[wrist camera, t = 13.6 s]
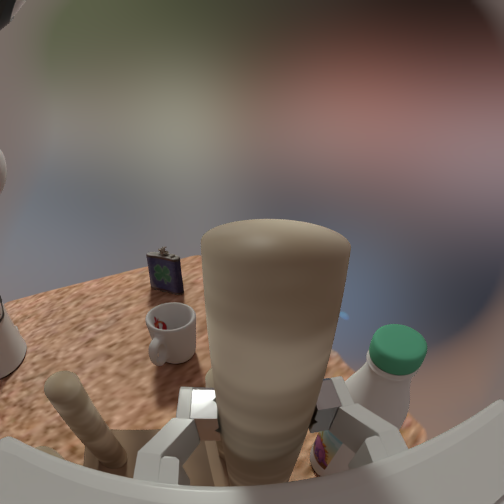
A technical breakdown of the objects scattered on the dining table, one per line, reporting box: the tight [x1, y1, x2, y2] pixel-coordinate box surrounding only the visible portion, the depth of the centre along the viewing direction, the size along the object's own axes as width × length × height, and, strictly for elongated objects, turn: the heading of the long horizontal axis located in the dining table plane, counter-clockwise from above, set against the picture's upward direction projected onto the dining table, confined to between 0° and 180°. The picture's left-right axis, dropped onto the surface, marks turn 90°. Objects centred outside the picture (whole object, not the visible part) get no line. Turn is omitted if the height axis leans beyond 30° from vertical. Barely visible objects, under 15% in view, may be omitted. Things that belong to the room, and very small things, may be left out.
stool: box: [36, 368, 230, 487], centre depth 17 cm, size 22×16×16 cm
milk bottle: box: [310, 324, 427, 476], centre depth 21 cm, size 8×8×20 cm
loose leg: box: [201, 219, 351, 486], centre depth 10 cm, size 4×4×16 cm
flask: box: [147, 247, 184, 295], centre depth 61 cm, size 9×3×11 cm, turn 71°
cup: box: [146, 303, 196, 366], centre depth 40 cm, size 11×8×8 cm
